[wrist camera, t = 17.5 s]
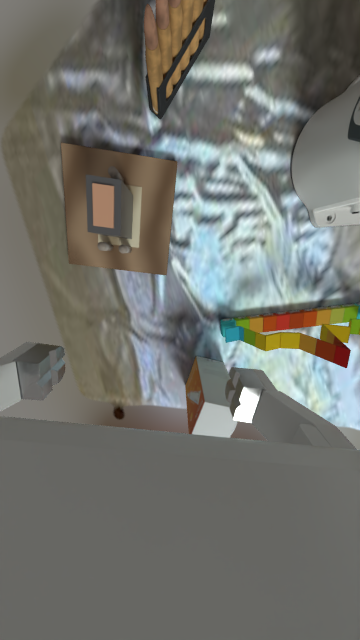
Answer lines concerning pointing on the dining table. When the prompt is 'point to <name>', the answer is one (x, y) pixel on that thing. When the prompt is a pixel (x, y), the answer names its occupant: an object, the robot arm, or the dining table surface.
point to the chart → (324, 348)
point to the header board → (148, 209)
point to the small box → (208, 399)
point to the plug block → (109, 207)
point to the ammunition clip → (173, 46)
